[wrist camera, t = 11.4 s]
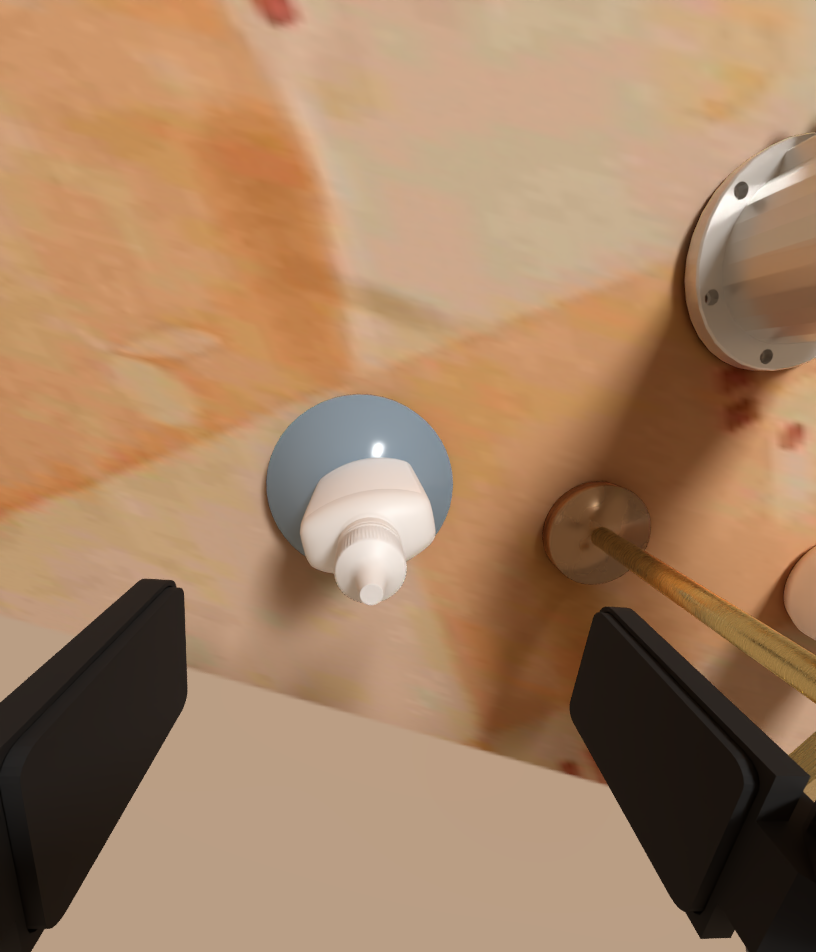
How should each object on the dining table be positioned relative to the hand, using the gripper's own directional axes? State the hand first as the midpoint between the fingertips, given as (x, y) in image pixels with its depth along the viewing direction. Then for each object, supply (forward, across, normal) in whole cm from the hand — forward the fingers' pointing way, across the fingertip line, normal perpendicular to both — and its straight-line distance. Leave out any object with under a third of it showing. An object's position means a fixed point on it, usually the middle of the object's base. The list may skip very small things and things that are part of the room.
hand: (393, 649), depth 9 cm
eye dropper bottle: (+15, +1, +1) cm, 15 cm away
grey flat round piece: (+16, +1, +1) cm, 16 cm away
